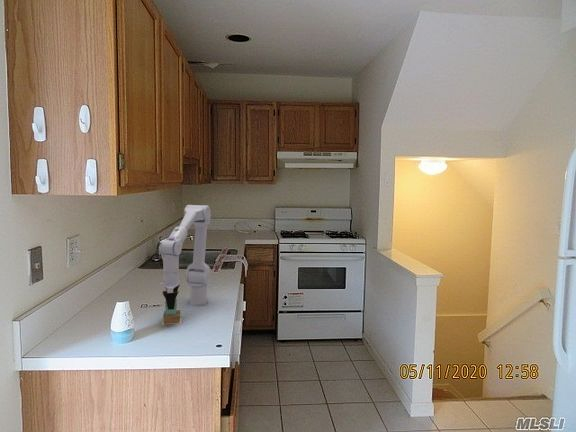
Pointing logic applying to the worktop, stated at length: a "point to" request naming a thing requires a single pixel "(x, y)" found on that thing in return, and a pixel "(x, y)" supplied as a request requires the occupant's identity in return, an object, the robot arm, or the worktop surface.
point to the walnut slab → (171, 318)
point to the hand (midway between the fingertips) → (171, 305)
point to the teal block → (172, 311)
